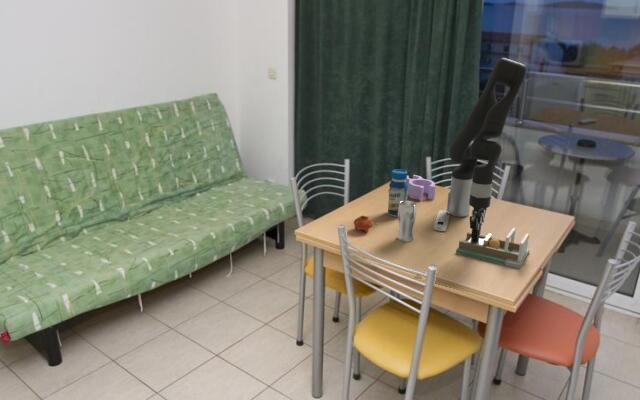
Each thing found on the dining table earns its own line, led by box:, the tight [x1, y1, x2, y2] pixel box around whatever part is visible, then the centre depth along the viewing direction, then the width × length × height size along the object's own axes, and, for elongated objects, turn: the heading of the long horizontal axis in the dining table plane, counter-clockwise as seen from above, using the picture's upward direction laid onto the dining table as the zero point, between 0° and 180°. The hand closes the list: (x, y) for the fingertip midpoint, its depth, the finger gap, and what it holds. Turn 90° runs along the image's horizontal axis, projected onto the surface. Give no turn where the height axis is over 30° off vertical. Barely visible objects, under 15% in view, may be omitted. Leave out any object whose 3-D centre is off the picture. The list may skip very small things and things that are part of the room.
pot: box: [353, 215, 374, 234], centre depth 214 cm, size 8×8×7 cm
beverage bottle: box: [387, 168, 408, 218], centre depth 230 cm, size 8×8×20 cm
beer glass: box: [397, 200, 417, 243], centre depth 205 cm, size 7×7×15 cm
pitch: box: [455, 227, 530, 269], centre depth 194 cm, size 23×16×10 cm
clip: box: [406, 174, 437, 202], centre depth 258 cm, size 20×12×7 cm, turn 16°
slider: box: [468, 219, 493, 247], centre depth 196 cm, size 7×7×10 cm
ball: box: [489, 238, 500, 249], centre depth 195 cm, size 4×4×4 cm
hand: (475, 236), depth 198 cm, fingers closed on slider, 3 cm apart
